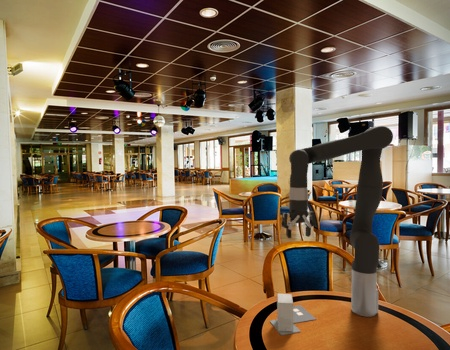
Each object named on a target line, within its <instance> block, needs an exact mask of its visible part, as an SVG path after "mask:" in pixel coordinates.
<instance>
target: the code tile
mask: <svg viewBox="0 0 450 350" xmlns="http://www.w3.org/2000/svg"><path fill="white" fill-rule="evenodd" d="M316 320H317V318H315V317H314V316H313V315H312V314H311V313H310V312H309V311H307V309H305V308H304V307H303V306H302V305H301V304H299V305H298V304H297V305H293V324H294V325H295V324H299V323H304V322H309V321H316Z"/></svg>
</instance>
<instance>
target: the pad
mask: <svg viewBox="0 0 450 350" xmlns="http://www.w3.org/2000/svg"><path fill="white" fill-rule="evenodd" d="M269 322H270V323H271V325H272V326H273V327H274V328H275V330H276V331H277V332H278V334H280V336H285V335H291V334H296V333H301V330H300V329H299V328H298V327H297V326H296V325H295V323H294V324H293V332H290V331H278V322H277V319H273V320H269Z"/></svg>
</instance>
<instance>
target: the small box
mask: <svg viewBox="0 0 450 350" xmlns="http://www.w3.org/2000/svg"><path fill="white" fill-rule="evenodd" d="M293 306H294V300H293V294H292V293H291V294H290V293H276V307H277V308H276V309H277V312H276V314H277V315H276V320H277V322H278V331H290V332H293ZM278 331H277V332H278Z"/></svg>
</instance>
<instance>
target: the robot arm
mask: <svg viewBox="0 0 450 350" xmlns="http://www.w3.org/2000/svg"><path fill="white" fill-rule="evenodd" d="M393 140H394V134H393V131H392V130H391V129H390V128H389V127H388V126H384V125H376V126H372V127H369V128H368V129H366V130H365V131H364V132H361V133H359V134H355V135H352V136H348V137H345V138H339V139H334V140H330V141H326V142H322V143H318V144H315V145H313V146H310V147H305V148H301V149H296V150H293V151H292V152H291V153H290V155H289V164H290V175H289V191H288V193H289V194H288V199H289V201H288V203H289V205H288V207H289V212H287V213H286V212H282V213H281V227H282V228H284V229H285V233H286V237H287V238H288V239H291V238H292V227H293V226H295V224H299V223H301V224H304V225H305V237H310V236H311V233H312V230H311V229H312V227H315V226H316V213H315V211H312V210H309V191H308V171H309V165H310V164H313V163H319V162H324V161H329V160H332V159H335V158H338V157H341V156H345V155H348V154H353V153H356V152H361V163H360V165H359V166H360V168H359V173H358V174H359V175H358V179H357V188H356V197H355V207H354V209H355V210H354V219H353V223H352V227H351V231H350V235H349V243H350V245H351V247H352V248H354V256H353V257H354V259H353V260H352V262H351V288H350V289H351V290H350V291H351V293H350V294H351V297H350V298H351V301H350V302H351V303H350V304H351V305H350V306H351V309H350V310H351V311H352V312H353V313H354V314H355V315H357V316H362V317H366V318H367V317H368V318H369V317H370V318H371V317H374V316H376V315H377V314H379V289H378V288H377V283H378V282H377V277H378V276H377V272H378V271H377V269H378V266H379V265H380V264H379V262H380V261H379V260H380V242H379V241H380V240H379V239H378V236H376V235H375V234H374V233H373V221H374V216H375V214H376V213H377V210H378V209H379V207H380V204H381V202H382V197H383V196H382V195H383V189H384V181H383V180H384V178H383V173H382V168H381V159H382V153H383V152H382V151H383V149H385V148H387V147H388V146H389V145H391V143H392V141H393ZM308 210H309V211H308ZM288 218H289V220H288Z"/></svg>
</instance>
